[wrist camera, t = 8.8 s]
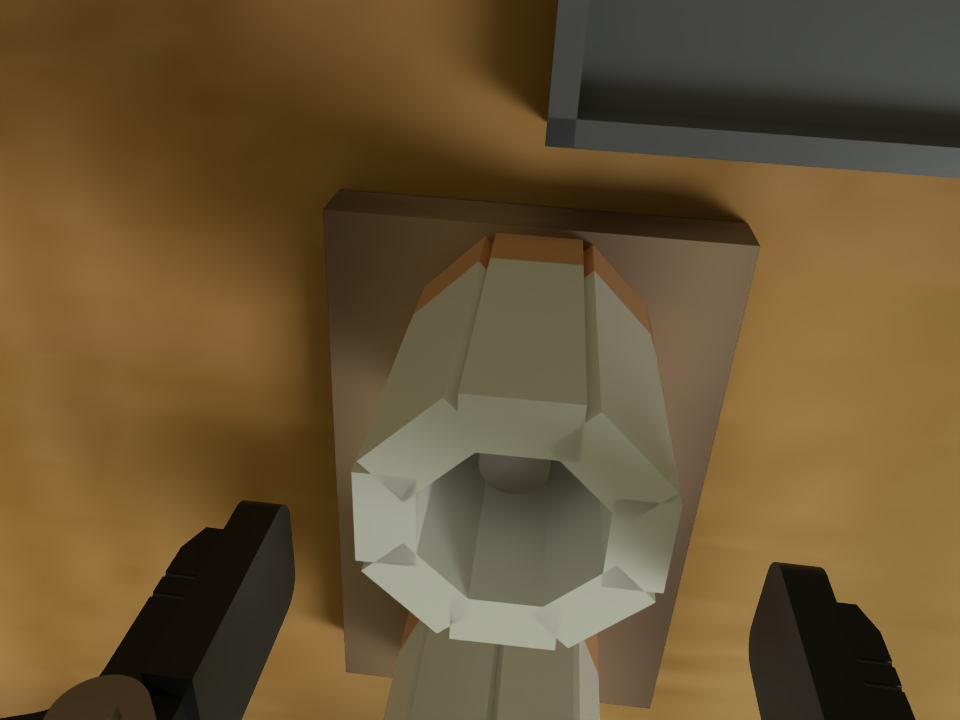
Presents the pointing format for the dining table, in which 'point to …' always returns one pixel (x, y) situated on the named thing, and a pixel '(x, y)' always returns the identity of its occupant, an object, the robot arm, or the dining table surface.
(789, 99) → the feeder tray
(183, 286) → the dining table surface
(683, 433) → the pin board
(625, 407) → the sleeve
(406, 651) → the seated sleeve
